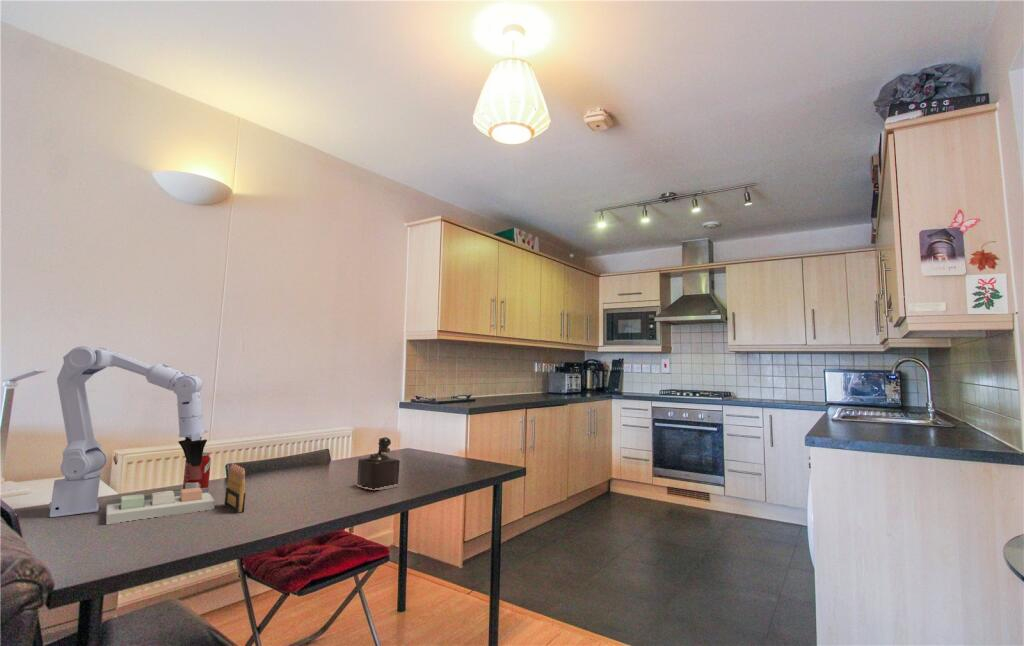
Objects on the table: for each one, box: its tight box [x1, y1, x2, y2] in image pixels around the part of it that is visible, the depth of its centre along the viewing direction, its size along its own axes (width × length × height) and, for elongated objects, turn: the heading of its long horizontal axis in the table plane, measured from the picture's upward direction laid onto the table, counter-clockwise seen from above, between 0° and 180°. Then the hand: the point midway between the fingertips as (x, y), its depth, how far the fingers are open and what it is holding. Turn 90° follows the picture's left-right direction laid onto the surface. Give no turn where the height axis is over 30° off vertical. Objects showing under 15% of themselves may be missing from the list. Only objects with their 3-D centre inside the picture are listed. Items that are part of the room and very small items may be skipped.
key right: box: [179, 488, 202, 502], centre depth 134 cm, size 5×5×3 cm
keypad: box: [105, 487, 216, 525], centre depth 129 cm, size 23×12×4 cm, turn 131°
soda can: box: [182, 452, 212, 489], centre depth 149 cm, size 7×7×12 cm
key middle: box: [151, 490, 174, 506], centre depth 130 cm, size 5×5×3 cm
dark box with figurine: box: [356, 436, 401, 489], centre depth 162 cm, size 16×11×18 cm
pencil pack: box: [223, 462, 246, 514], centre depth 134 cm, size 11×2×12 cm, turn 47°
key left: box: [120, 493, 145, 510], centre depth 125 cm, size 5×5×3 cm
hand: (194, 464), depth 136 cm, fingers open, 7 cm apart
